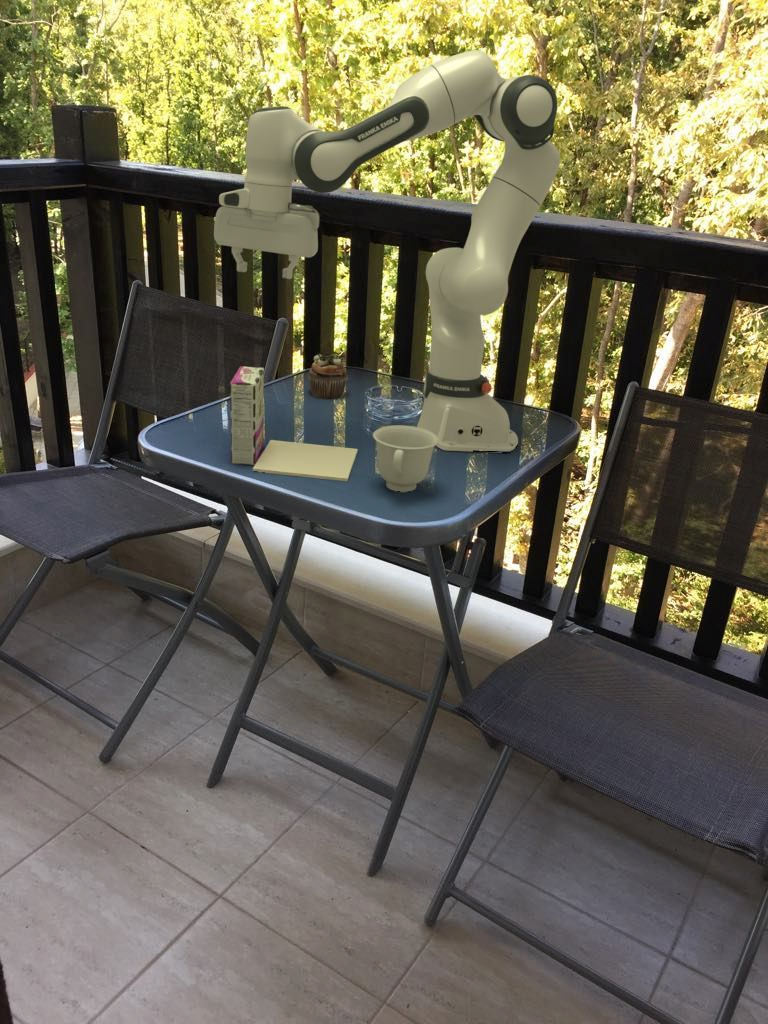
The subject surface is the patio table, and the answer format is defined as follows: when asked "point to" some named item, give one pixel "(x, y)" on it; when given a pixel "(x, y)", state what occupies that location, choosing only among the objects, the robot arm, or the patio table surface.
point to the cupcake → (327, 377)
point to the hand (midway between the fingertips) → (264, 274)
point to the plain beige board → (306, 460)
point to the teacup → (404, 455)
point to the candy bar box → (247, 415)
